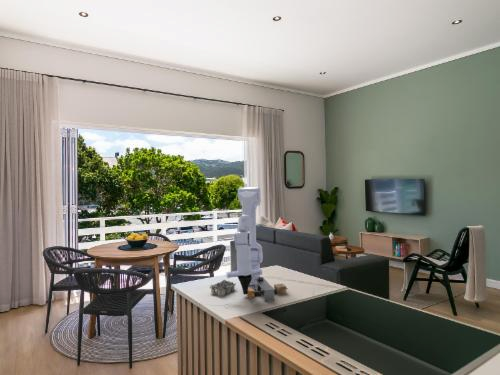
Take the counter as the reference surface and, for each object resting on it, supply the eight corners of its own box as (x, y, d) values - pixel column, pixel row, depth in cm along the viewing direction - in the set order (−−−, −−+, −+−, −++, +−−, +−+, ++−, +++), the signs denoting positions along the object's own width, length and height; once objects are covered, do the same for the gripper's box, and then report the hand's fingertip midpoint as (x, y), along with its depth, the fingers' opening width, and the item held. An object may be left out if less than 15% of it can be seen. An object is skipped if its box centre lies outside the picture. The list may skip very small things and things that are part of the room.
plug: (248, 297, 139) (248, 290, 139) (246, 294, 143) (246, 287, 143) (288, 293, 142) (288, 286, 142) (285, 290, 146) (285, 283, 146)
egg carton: (221, 297, 142) (220, 287, 142) (208, 294, 146) (207, 284, 146) (237, 289, 150) (237, 280, 150) (224, 287, 155) (224, 278, 155)
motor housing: (255, 289, 150) (254, 276, 150) (263, 288, 151) (263, 275, 150) (264, 301, 134) (264, 287, 134) (274, 300, 135) (274, 286, 135)
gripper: (227, 264, 135) (229, 298, 135) (263, 261, 138) (264, 294, 138) (225, 260, 142) (226, 293, 142) (259, 257, 145) (260, 289, 145)
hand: (245, 293), depth 141 cm, fingers closed
